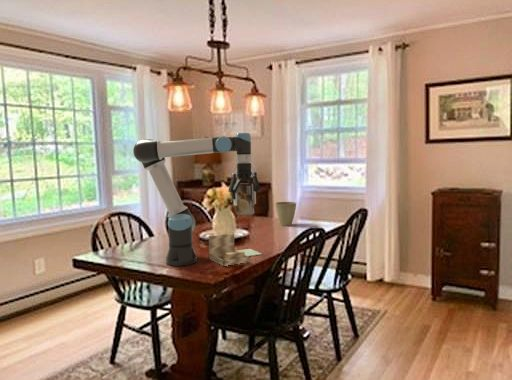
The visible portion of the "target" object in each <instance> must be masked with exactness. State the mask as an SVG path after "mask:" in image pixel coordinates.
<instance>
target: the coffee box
mask: <svg viewBox="0 0 512 380" xmlns="http://www.w3.org/2000/svg"><path fill="white" fill-rule="evenodd" d="M253 183H254V182H253ZM253 183H249V182H246V183H245V182H244V183H243V182H241V183H240V185H239V187H238V189H237V191H236V193H237V206H235V214H236V215H254V214H255V204H254V192H253ZM235 185H236V183H235V184H234V186H235Z"/></svg>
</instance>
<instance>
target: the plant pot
mask: <svg viewBox="0 0 512 380" xmlns="http://www.w3.org/2000/svg"><path fill="white" fill-rule="evenodd" d="M275 208H276V213H277V214H276V215H277V217H278V221H279V224H280V226H282V227H283V226H284V227H289V226H292V224H293V222H294V218H295V215H296V209H297V202H296V201H295V202H294V201H277V202H275Z"/></svg>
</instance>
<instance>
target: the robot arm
mask: <svg viewBox="0 0 512 380" xmlns="http://www.w3.org/2000/svg"><path fill="white" fill-rule="evenodd" d="M251 138H252V137H251V134H250V133H249V132H237V133H236V135H235V136H218V137H217V136H216V137H207V138H206V137H204V138H193V139H183V140H182V139H181V140H172V141H171V140H169V141H161V140H159V139H157V140H154V139H147V138H146V139H140V140H139V141H137V142H136V143H135V144H134V146H133V149H132V150H133V151H132V152H133V156H134V158H135V159H136V160H137V161H138V162H140V163H141V165H142V166H143V168H144V170H146V171H148V172H149V174H150V176H151V178H152V180H153V182H154V185H155V186H156V188H157V191H158V192H159V195H160V197H161V199H162V201H163V203H164V206H165V208H166V210H167V212H168V213H167V219H168V220H167V226H168V251H167V253H166V254H167V255H166V258H165V264H167V265H168V266H171V265H172V266H173V267H183V266H182V265H185V266H190V265H189V264H191V265H194V264H195V262H196V263H197V254H196V252H195V249H194V245H193V241H194V240H193V232H194V230H195V229H196V225H197V224H196V223H197V222H196V219H195V217H194V215H193V214H192V213H191V211H190V209H189V208H188V207H189V206H186V205H184V203H183V201H182V199H181V197H180V194H179V193H178V190H177V188H176V186H175V184H174V182H173V179H172V178H171V176H170V174H169V171H168V169H167V167H166V165H165V164H166V163H165V162H166V158H171V157H172V158H173V157H182V156H194V155H196V156H197V155H204V154H206V155H207V154H216V153H217V154H219V153H221V154H223V153H227V152H236V162H237V163H236V171H237V172H236V173H234V172H232V173H231V179H230V183H229V187H228V190H227V191H228V193H231V199H232V200H233V206H235V207H236V206H237V193H236V191H237V189H238V187H239V185H240V183H243V181H247V183H253V192H254V205H256V204H257V197H258V192H259V191H261V186H260V183H259V181H258V174H257V171H256V172H255V171H252V163H251V162H252V139H251ZM235 184H236V185H235ZM193 263H194V264H193Z"/></svg>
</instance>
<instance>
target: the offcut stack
mask: <svg viewBox="0 0 512 380" xmlns="http://www.w3.org/2000/svg"><path fill="white" fill-rule="evenodd" d="M242 257H245V252H243V251H238V250H235V252H229V253H225V257H223V258H221V259H223V260H230V259H236V258H242Z"/></svg>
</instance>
